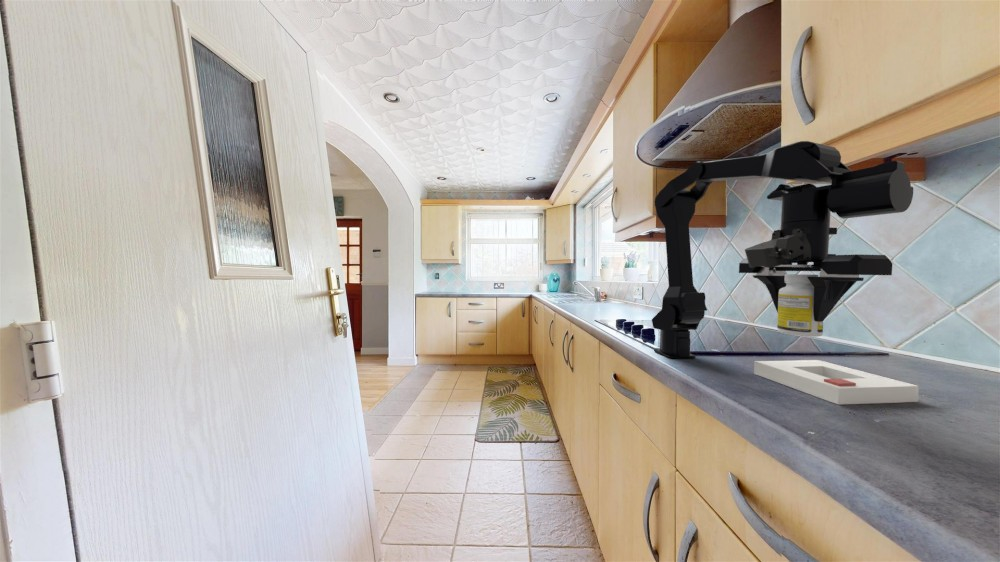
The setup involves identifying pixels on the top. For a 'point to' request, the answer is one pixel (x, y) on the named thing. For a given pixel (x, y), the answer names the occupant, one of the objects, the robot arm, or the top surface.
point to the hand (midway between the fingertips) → (799, 318)
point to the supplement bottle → (797, 307)
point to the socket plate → (836, 382)
